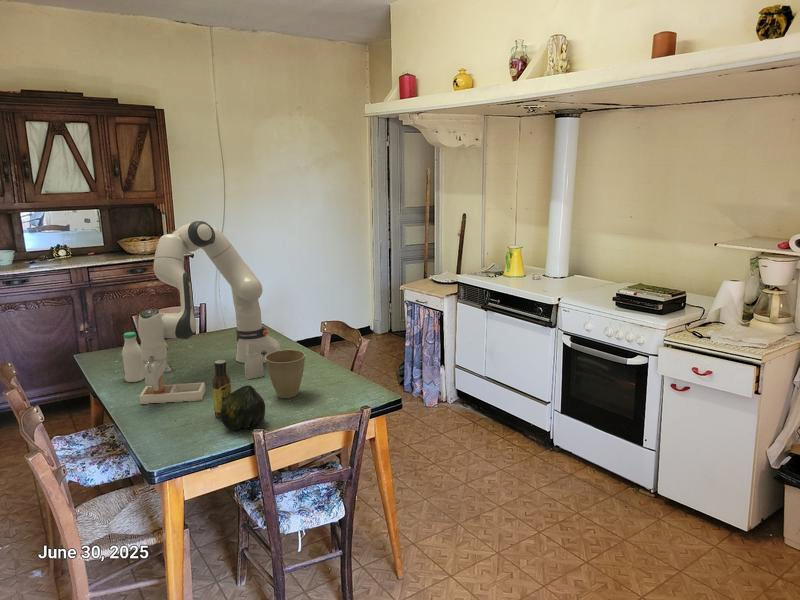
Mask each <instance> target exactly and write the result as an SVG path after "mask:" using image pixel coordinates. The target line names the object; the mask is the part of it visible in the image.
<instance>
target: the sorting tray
mask: <svg viewBox="0 0 800 600" xmlns="http://www.w3.org/2000/svg"><path fill="white" fill-rule="evenodd" d="M163 385H164V393H162V394H153V389H152V385H146V386H144V388H143V390H142V391H141V393H140V395H139V396H138V397H139V404H147V405H149V404H148V403H161V404H167V403H166V402H175V403H184V402H183V401H188V402H200V401H201V400H202V401H203V398H204V396H205V394H206V383H205V381H203V382H190V383H189V382H188V383H176V384H174V383H173V384H163Z"/></svg>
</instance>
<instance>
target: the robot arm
mask: <svg viewBox="0 0 800 600" xmlns="http://www.w3.org/2000/svg"><path fill="white" fill-rule="evenodd" d="M199 249H201V250H202V251H204V252H205V254H206V256H207V257H208V258H209V260H210V261H211V262H212V263H213V265H214V266H215V268H216V269H217V270H218V271H219V273H220V274H221V276H223V278H224V279H225V281H227V283H228V284H229V285H230V288H231V295H232V300H233V306H234V312H235V322H236V328H235V337H236V338H235V339H236V344H237V346H236V347H237V348H236V356H235V361H236V362H239V363H243V364H244V360H245V355H250V354H255V353H261V357H262V362H263V364H266V361H265V356H266V355H267V354H269V353H272V352H275V351H279V350H282V349H281V345H280V343H279V341H278V340H277V339H275V338H274V337H271V336H270V335H268V329H267V327H266V326H265V327H264V326H263V324H262V323H263V322H262V311H261V310H262V309H261V306H260V302H259V299H260V298H261V296H262V294H263V286H262V283H261V281H260V280H259V278H258V277H257V276H256V274H255V273H254V272H253V271H252V269H251V268H250V266H249V265H248V264H247V263H246V262H245V261H244V259H243V258H242V257H241V256H240V254H239V252H238V251H237V249H235V247H234V245H233V244H232V243H231V241H230V240H229V239H228V237H226V235H225V234H224V233H223V232H222V231H221V230H220V229H219V228H217V227H215V226H211V225H210V224H209V223H208V222H205V221H203V220H195V221H192V222H189V223H186V224H184V225H182V226H180V227H178V228H176V229H174V230H172V231H171V233H166V234H163V235H162V236H160V237H159V239H158V241H157V245H156V247H155V253H154V259H153V272H154V273H153V274H154V275H155V276H156V277H155V278H157V279H158V280H159V281H160V282H162V283H164V284H167V285H169V286H172V287H174V288H176V289H178V291H179V298H180V299H179V301H180V311H179V312H175V313H174V312H170V313H168V312H161V310H160V309H158V308H148V309H144V310H143V311H141V312H140V313H139V314H138V321H137V325H138V335H139V338H140V348H141V354H142V359H143V361H145V363H144V372H145V378H144V381H145V385H146V386H152V385H153V389H154V391H158V390H159V385H158V380H159V378H160V377H161V376H162V377H163V374H164V373H165V372H164V370H165V369H166V367H167V364H168V350H169V348H168V347H169V345H168V344H167V343H166V340H165V339H181V340H188V339H190V338H191V337H192V336H193V335H194V334H196V332H197V320H196V315H195V306H194V294H193V293H194V292H193V285H192V279H191V276H190V275H189V274H188V273H187V272H186V271H185V267H184V266H185V265H184V264H185V255H186V254H187V253H191V252H195V251H199ZM166 344H167V345H168V346H167V345H166ZM163 372H164V373H163Z"/></svg>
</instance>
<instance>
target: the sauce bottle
mask: <svg viewBox="0 0 800 600" xmlns="http://www.w3.org/2000/svg"><path fill="white" fill-rule="evenodd" d="M213 364H214V365H213V367H214V377H213V378H212V397H213V398H212V400H213V410H214V415H215V417H216V416H217V417H216V418H221V408H222V404H223V401H224V399H225V397H226V396H228V395H229V394H231V393H232V382H231V378H230V377H229V375H228V373H227V361H226V360H225V359H219V360H215V361H214V363H213Z"/></svg>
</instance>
